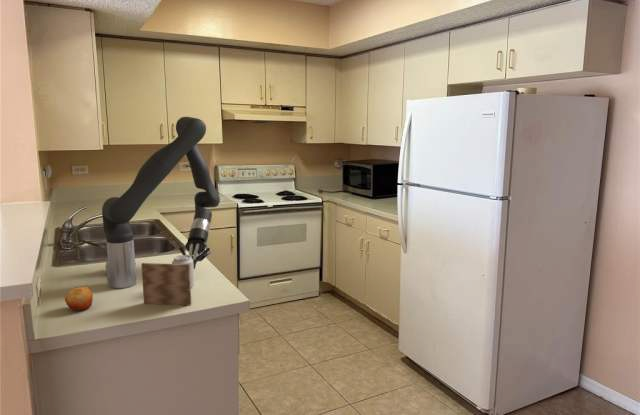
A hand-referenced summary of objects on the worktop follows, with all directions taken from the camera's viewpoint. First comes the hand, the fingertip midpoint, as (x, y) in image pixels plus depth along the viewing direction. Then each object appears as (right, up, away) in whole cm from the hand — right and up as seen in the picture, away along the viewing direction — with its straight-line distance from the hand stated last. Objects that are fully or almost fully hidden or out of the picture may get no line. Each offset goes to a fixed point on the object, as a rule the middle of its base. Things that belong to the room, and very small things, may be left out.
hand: (190, 269), depth 174 cm
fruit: (-29, -9, -26) cm, 40 cm away
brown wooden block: (-1, -8, -20) cm, 21 cm away
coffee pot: (-37, -3, +10) cm, 38 cm away
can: (0, -6, -7) cm, 9 cm away
